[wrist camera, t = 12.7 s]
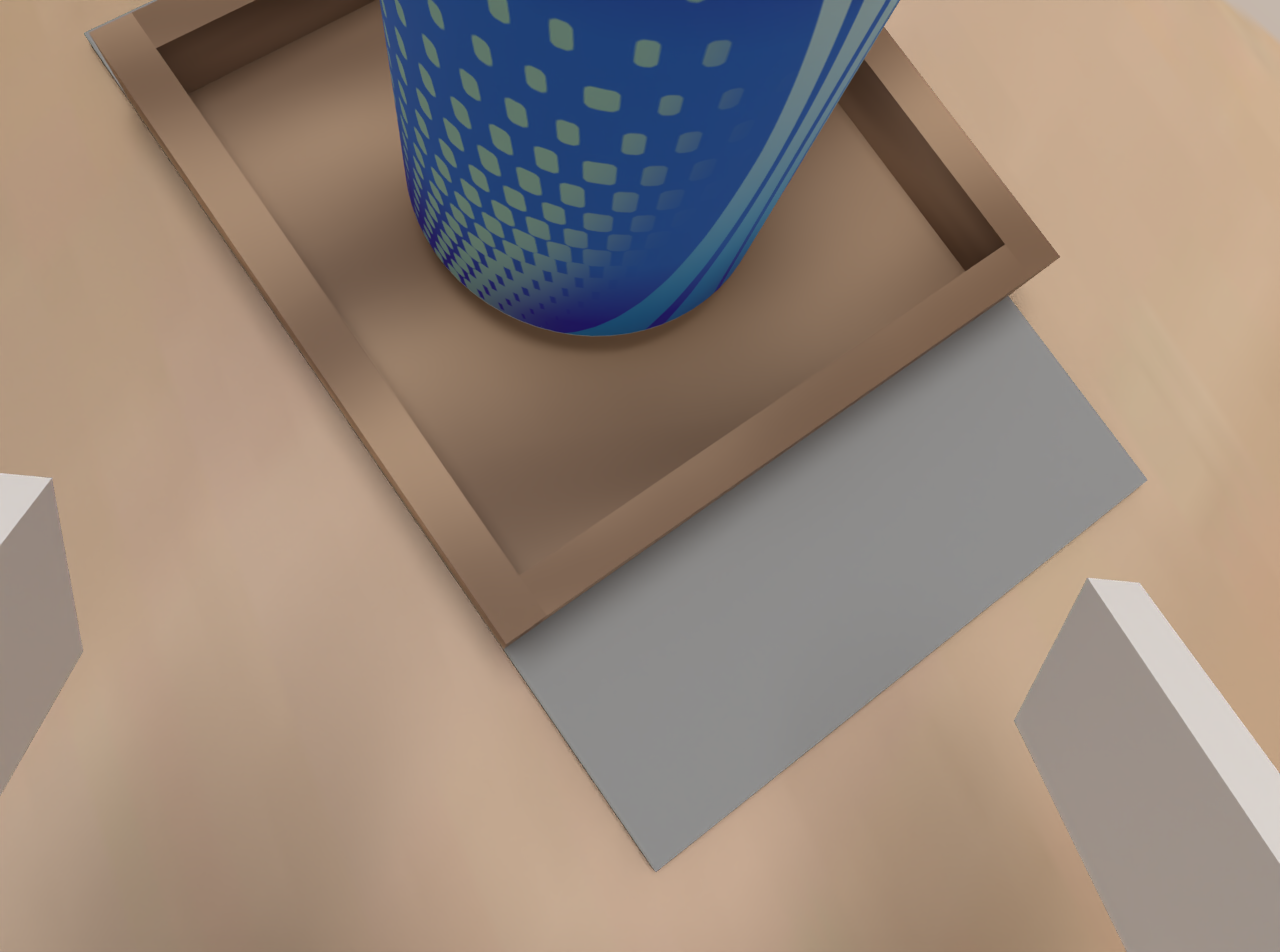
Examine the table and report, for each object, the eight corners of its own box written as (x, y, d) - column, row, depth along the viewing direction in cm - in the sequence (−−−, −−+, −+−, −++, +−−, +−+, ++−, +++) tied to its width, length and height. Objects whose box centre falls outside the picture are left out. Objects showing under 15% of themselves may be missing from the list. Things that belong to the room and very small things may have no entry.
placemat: (89, 43, 25) (83, 33, 25) (616, -207, 29) (618, -219, 28) (652, 869, 23) (655, 872, 23) (1138, 483, 27) (1147, 480, 26)
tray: (127, 97, 24) (88, 32, 22) (660, -165, 28) (676, -245, 26) (503, 648, 23) (505, 643, 21) (1008, 295, 27) (1060, 257, 24)
